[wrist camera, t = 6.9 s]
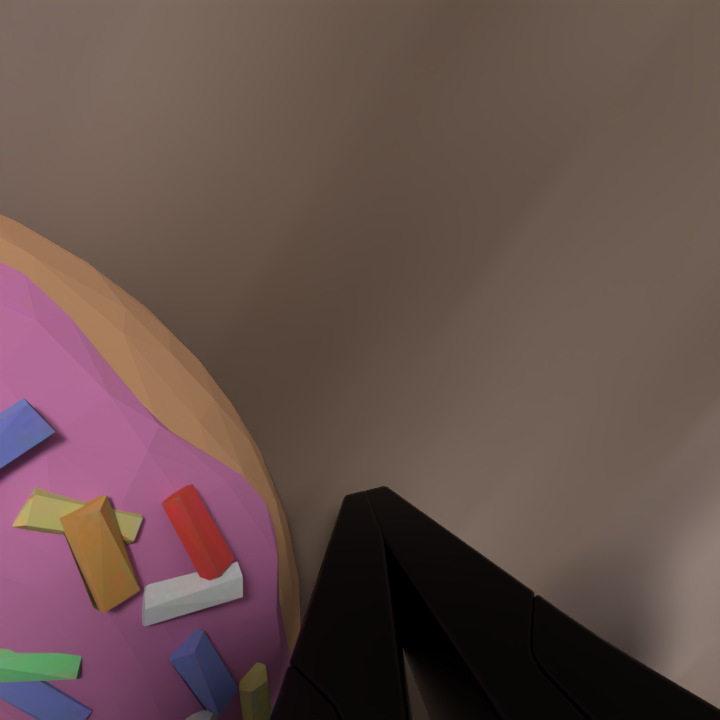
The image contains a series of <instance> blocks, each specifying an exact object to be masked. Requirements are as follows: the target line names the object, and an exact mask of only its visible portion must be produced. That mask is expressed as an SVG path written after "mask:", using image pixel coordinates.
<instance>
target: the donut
mask: <svg viewBox="0 0 720 720" xmlns="http://www.w3.org/2000/svg"><path fill="white" fill-rule="evenodd" d="M299 631H300V593H299V578H298V573H297V568H296V563H295V558H294V553H293V548H292V543H291V538H290V533H289V528H288V523H287V518H286V515H285V513H284V510H283V508H282V505H281V503H280V500H279V498H278V495H277V493H276V490H275V488H274V485H273V483H272V480H271V478H270V475H269V472H268V470H267V467H266V465H265V462H264V460H263V457H262V455H261V452H260V450H259V448H258V447H257V445H256V443H255V442H254V440H253V438H252V437H251V435H250V433H249V432H248V430H247V428H246V427H245V425H244V423H243V422H242V420H241V418H240V417H239V415H238V413H237V412H236V410H235V408H234V407H233V405H232V404H231V402H230V401H229V400H228V398H227V397H226V396H225V394H224V393H223V392H222V390H221V389H220V388H219V386H218V385H217V384H216V382H215V381H214V380H213V378H212V377H211V376H210V374H209V373H208V372H207V370H206V369H205V368H204V366H203V365H202V364H201V362H200V361H199V360H198V359H197V358H196V357H195V356H194V355H193V354H192V353H191V352H190V351H189V350H188V349H187V348H186V347H185V346H184V345H183V344H182V343H181V342H180V341H179V340H178V339H177V338H176V337H175V336H174V335H173V334H172V333H171V332H170V331H169V330H168V329H167V327H166V326H165V325H164V324H163V323H162V322H161V321H160V320H159V319H158V318H157V317H156V316H155V315H154V314H153V313H152V312H151V311H150V310H149V309H148V308H147V307H145V306H144V305H143V304H141V303H140V302H139V301H137V300H136V299H135V298H133V297H132V296H131V295H129V294H128V293H127V292H125V291H124V290H123V289H121V288H120V287H119V286H118V285H116V284H115V283H114V282H112V281H111V280H110V279H108V278H107V277H106V276H104V275H103V274H102V273H100V272H99V271H98V270H96V269H95V268H94V267H92V266H91V265H90V264H89V263H87V262H85V261H84V260H82V259H80V258H79V257H77V256H75V255H73V254H72V253H70V252H68V251H67V250H65V249H63V248H61V247H60V246H58V245H56V244H55V243H53V242H51V241H49V240H48V239H46V238H44V237H43V236H41V235H39V234H37V233H36V232H34V231H32V230H31V229H29V228H27V227H25V226H24V225H22V224H20V223H18V222H16V221H14V220H12V219H10V218H8V217H6V216H4V215H1V214H0V720H269V718H270V716H271V713H272V710H273V707H274V705H275V702H276V699H277V697H278V694H279V691H280V688H281V685H282V682H283V679H284V675H285V672H286V669H287V667H288V666H290V658H291V655H292V652H293V649H294V646H295V643H296V640H297V637H298V634H299Z"/></svg>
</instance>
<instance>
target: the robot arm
mask: <svg viewBox="0 0 720 720" xmlns="http://www.w3.org/2000/svg"><path fill="white" fill-rule="evenodd" d="M402 647H403V649H402ZM403 650H404V653H405V655H406V658H407V660H408V663H409V665H410V668H411V671H412V673H413V676H414V678H415V681H416V683H417V686H418V689H419V691H420V694H421V696H422V699H423V701H424V704H425V707H426V709H427V712H428V714H429V717H430V720H720V709H719V708H717V707H715V706H713V705H712V704H710V703H708V702H707V701H705V700H703V699H702V698H700V697H698V696H696V695H695V694H693V693H691V692H690V691H688V690H686V689H685V688H683V687H681V686H679V685H678V684H676V683H674V682H673V681H671V680H669V679H668V678H666V677H664V676H663V675H661V674H659V673H657V672H656V671H654V670H652V669H651V668H649V667H647V666H646V665H644V664H642V663H641V662H639V661H638V660H636V659H634V658H633V657H631V656H629V655H628V654H626V653H625V652H623V651H621V650H620V649H618V648H616V647H615V646H613V645H612V644H610V643H608V642H607V641H605V640H603V639H602V638H600V637H599V636H597V635H596V634H594V633H593V632H591V631H590V630H588V629H587V628H585V627H584V626H583V625H581V624H580V623H578V622H577V621H575V620H574V619H572V618H571V617H569V616H568V615H566V614H565V613H563V612H562V611H560V610H559V609H558V608H556V607H555V606H553V605H552V604H551V603H549V602H548V601H546V600H545V599H544V598H542V597H541V596H539V595H536V596H535V594H534V592H533V591H532V590H531V589H529V588H528V587H526V586H525V585H524V584H522V583H521V582H519V581H518V580H517V579H515V578H514V577H512V576H511V575H510V574H508V573H507V572H505V571H504V570H503V569H501V568H500V567H498V566H497V565H496V564H494V563H493V562H491V561H490V560H489V559H487V558H486V557H485V556H483V555H482V554H480V553H479V552H478V551H476V550H475V549H473V548H472V547H471V546H469V545H468V544H466V543H465V542H464V541H462V540H461V539H459V538H458V537H457V536H455V535H454V534H452V533H451V532H450V531H448V530H447V529H445V528H444V527H443V526H441V525H440V524H438V523H437V522H436V521H434V520H433V519H431V518H430V517H429V516H427V515H426V514H424V513H423V512H422V511H420V510H419V509H417V508H416V507H415V506H413V505H412V504H410V503H409V502H408V501H406V500H405V499H403V498H402V497H401V496H399V495H398V494H396V493H395V492H394V491H392V490H391V489H389V488H388V487H385V486H382V487H378V488H374V489H370V490H366V491H361V492H357V493H353V494H349V495H346V496H345V497H344V499H343V502H342V505H341V508H340V511H339V514H338V517H337V520H336V523H335V526H334V529H333V532H332V535H331V538H330V541H329V544H328V547H327V550H326V553H325V556H324V559H323V562H322V565H321V568H320V571H319V574H318V577H317V580H316V583H315V586H314V589H313V592H312V595H311V598H310V601H309V604H308V607H307V610H306V613H305V616H304V619H303V622H302V625H301V628H300V631H299V634H298V637H297V640H296V643H295V646H294V649H293V652H292V655H291V658H290V666H288V667H287V669H286V672H285V675H284V679H283V682H282V685H281V688H280V691H279V694H278V697H277V699H276V702H275V705H274V707H273V710H272V713H271V716H270V718H269V720H413V717H412V710H411V703H410V696H409V690H408V683H407V676H406V669H405V663H404V656H403Z"/></svg>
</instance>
